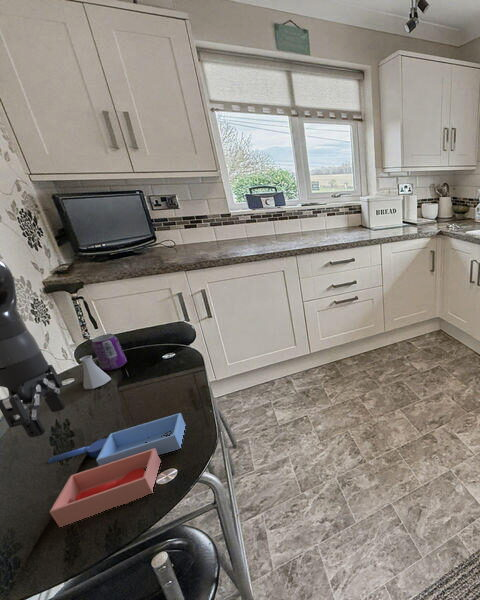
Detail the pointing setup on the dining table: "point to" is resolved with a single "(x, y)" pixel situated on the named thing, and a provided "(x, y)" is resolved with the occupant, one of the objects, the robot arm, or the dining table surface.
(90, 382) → the flask
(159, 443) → the blue bin
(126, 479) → the red spoon
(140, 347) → the dining table surface
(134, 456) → the rose bin
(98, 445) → the blue spoon
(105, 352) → the beverage can
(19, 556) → the dining table surface
